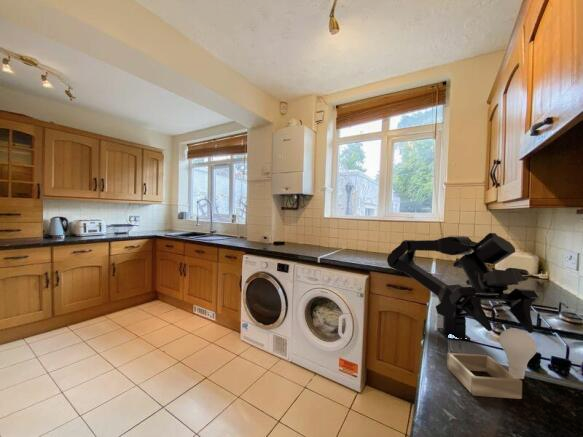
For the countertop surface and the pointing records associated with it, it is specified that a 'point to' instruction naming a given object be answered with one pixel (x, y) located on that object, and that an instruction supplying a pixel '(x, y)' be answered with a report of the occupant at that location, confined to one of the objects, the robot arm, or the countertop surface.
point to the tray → (493, 386)
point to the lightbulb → (517, 350)
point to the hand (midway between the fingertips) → (511, 331)
